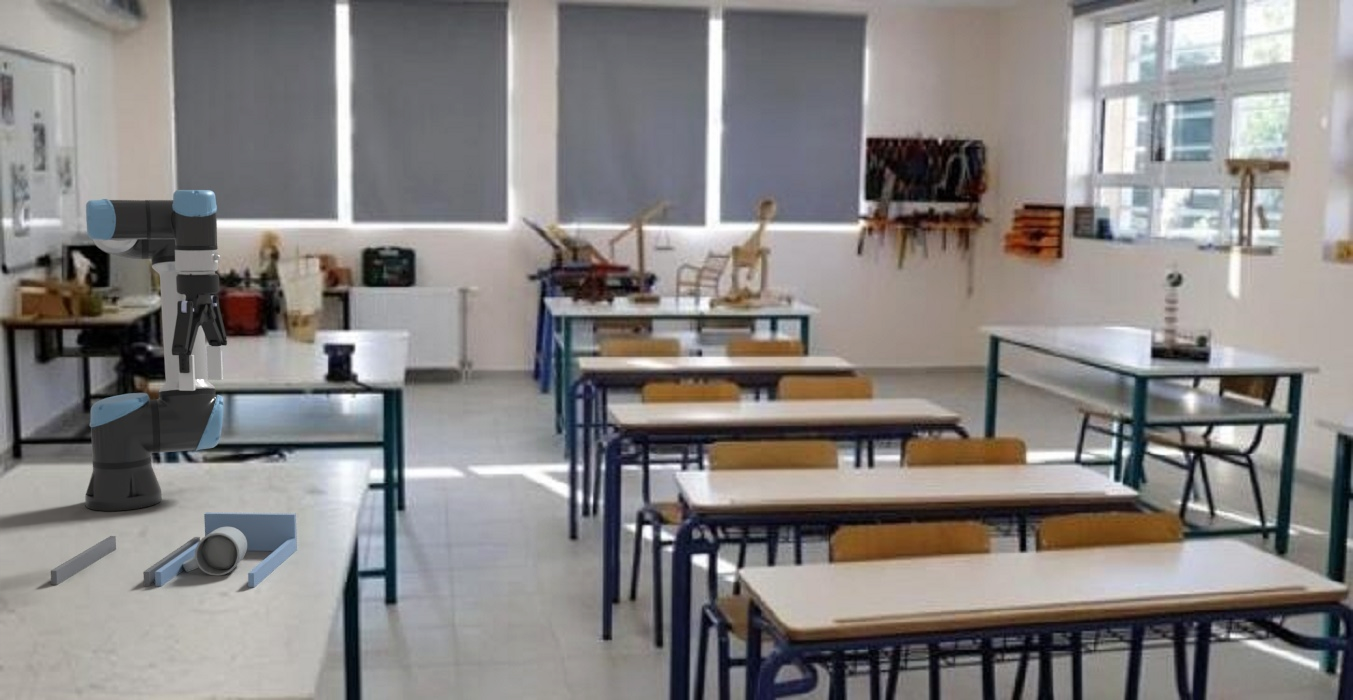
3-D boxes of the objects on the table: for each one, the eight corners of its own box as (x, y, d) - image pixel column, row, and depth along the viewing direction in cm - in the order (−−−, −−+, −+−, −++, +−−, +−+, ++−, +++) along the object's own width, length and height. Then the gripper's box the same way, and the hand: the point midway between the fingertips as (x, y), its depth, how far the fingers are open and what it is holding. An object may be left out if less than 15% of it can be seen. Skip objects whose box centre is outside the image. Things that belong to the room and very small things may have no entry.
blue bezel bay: (207, 548, 238) (206, 512, 237) (297, 549, 238) (295, 513, 237) (155, 586, 215) (153, 546, 215) (254, 587, 215) (252, 547, 214)
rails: (110, 548, 238) (110, 536, 237) (200, 550, 237) (199, 537, 237) (51, 584, 216) (50, 570, 215) (149, 586, 215) (149, 571, 215)
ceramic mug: (250, 562, 230) (248, 521, 229) (240, 575, 222) (237, 532, 221) (190, 564, 229) (187, 523, 228) (177, 578, 221) (175, 535, 220)
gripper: (190, 277, 223) (195, 395, 226) (241, 268, 248) (245, 375, 251) (148, 276, 224) (153, 394, 226) (203, 268, 248) (207, 375, 251)
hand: (201, 384), depth 238 cm, fingers open, 13 cm apart
